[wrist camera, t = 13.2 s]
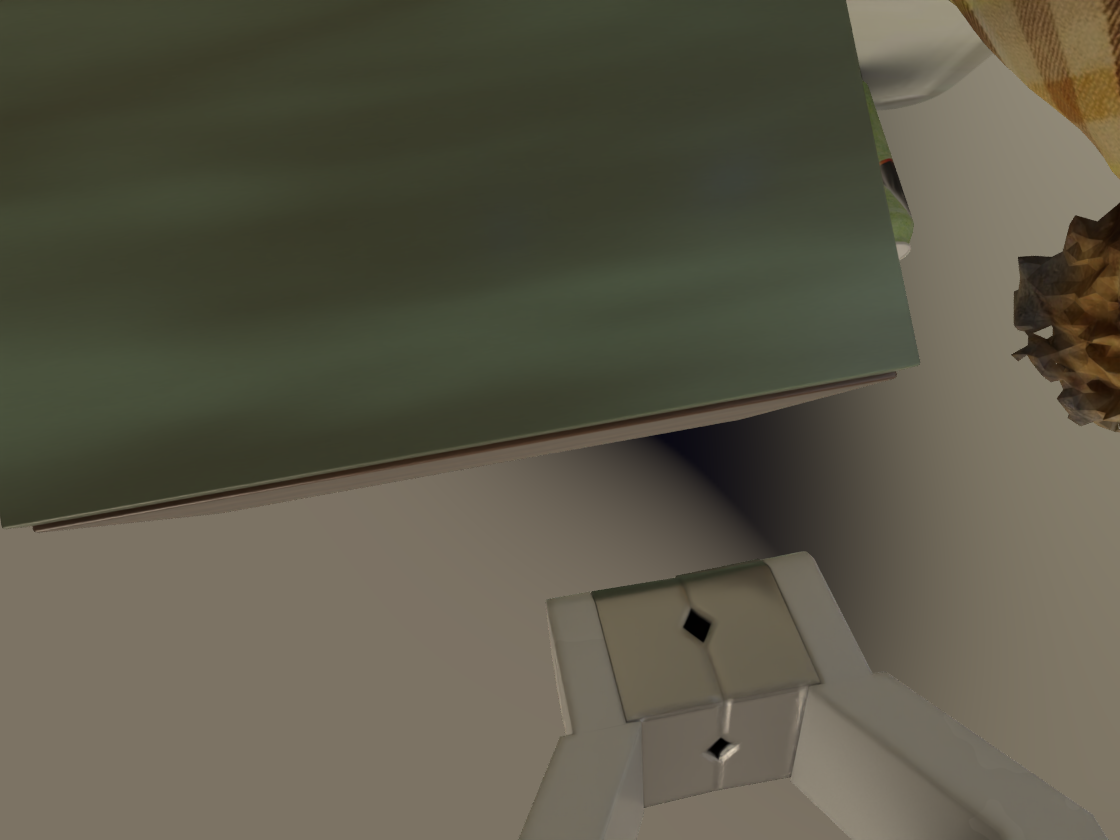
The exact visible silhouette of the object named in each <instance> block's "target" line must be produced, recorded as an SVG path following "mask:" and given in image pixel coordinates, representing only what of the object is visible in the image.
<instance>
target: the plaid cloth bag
mask: <svg viewBox="0 0 1120 840" xmlns="http://www.w3.org/2000/svg"><path fill="white" fill-rule="evenodd" d="M949 1H950V2H952V3H953V4H954V5H956V6H957V7H958V9H959V10H960V12H961V13H962V14H963V16H964V17H965V18H966V20H967V21H968V23H969V24H970V25H971V27H972V28H973V30H974V31H975V32H976V33H977V35H978V36H979V37H980V39H981V40H982V41H983V42H984V44H985V45H986V46H987V47H988V48H989V49H990V50H991V51H992V52H993V53H994V54H995V55H996V56H997V57H998V58H999V59H1000V60H1001V61H1002V62H1003V64H1004V65H1005V66H1006V67H1008V68H1009V69H1010V70H1011V71H1012V72H1013V73H1014V74H1015V75H1016V76H1017V77H1018V78H1019V79H1021V81H1022V82H1023V83H1024V84H1026V85H1027V86H1028V88H1029V89H1031V90H1032V91H1033V92H1035V93H1036V94H1037V95H1038V96H1040V97H1041V98H1042V99H1043V100H1045V101H1046V102H1047V103H1049V104H1050V105H1051V106H1052V107H1053V108H1055V109H1056V110H1057V111H1058V112H1060V113H1061V114H1062V115H1063V116H1064V117H1066V118H1067V119H1068V120H1070V121H1071V122H1072V123H1073V124H1074V125H1075V126H1077V127H1078V128H1079V129H1080V130H1081V131H1082V132H1083V133H1084V134H1085V135H1086V136H1087V137H1088V139H1089V140H1090V141H1091V142H1092V143H1093V144H1094V145H1095V146H1096V148H1097V149H1098V150H1099V152H1100V153H1101V154H1102V155H1103V157H1104V158H1105V160H1106V162H1107V163H1108V165H1109V167H1110V169H1111V170H1112V172H1113V173H1114V174H1115V175H1116V176H1117V177H1118V178H1119V179H1120V0H949ZM1018 261H1019V271H1020V284H1019V290H1017V291H1014V326H1015V327H1016V328H1017V329H1018V330H1021V331H1025V332H1026V334H1027V335H1028V346H1026V347H1024V348H1022V349H1020V350H1019V351H1017V352H1015V353H1013V354H1012V356H1013V357H1014V358H1015V359H1016V360H1017V361H1019V360H1021V359H1022V358H1023V357H1025V356H1026V355H1027V356H1028V357H1029V359H1030V361H1031V362H1032V363H1033V365H1034V366H1035V367H1036V368H1037V370H1038V371H1039V372H1040V373H1041V375H1042V376H1043V377H1045V378H1046V379H1047V380H1049V381H1050V382H1053V381H1058V380H1060V383H1061V385H1062V387H1063V391H1062V392H1061V394H1060V395H1059V396H1058V398H1057V399H1058V401H1059V402H1060V403H1061V405H1062V406H1063V407H1064V408H1065V410H1066V411H1067V412H1068V413H1069V416H1068V418H1069V419H1070V420H1072V421H1073V422H1075V423H1076V424H1078V425H1080V426H1083V425H1086V424H1089V423H1091V422H1094V423H1095V424H1097V425H1098V426H1100V427H1103V428H1106V429H1109V430H1111V431H1114V432H1120V429H1119V428H1118V423H1119V426H1120V203H1119V204H1118V205H1117V206H1115V207H1114V208H1113V209H1112V210H1111V211H1110V212H1108V213H1107V214H1106V215H1105V216H1104V217H1102V218H1101V219H1100V220H1099V221H1098V222H1097V221H1094V220H1090V219H1087V218H1083V217H1079V216H1075V217H1074V218H1073V220H1072V222H1071V223H1070V225H1069V229H1068V233H1067V237H1066V241H1065V245H1064V249H1063V252H1061V253H1059V254H1057V255H1055V256H1053V257H1043V256H1025V257H1018ZM1051 325H1052V327H1053V336H1051V337H1049V338H1048V339H1045V338H1043V337H1041V336H1038V335H1036V334H1034V332H1037V331H1039V330H1041V329H1044V328H1046V327H1049V326H1051ZM1056 363H1057V364H1056Z"/></svg>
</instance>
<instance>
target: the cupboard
mask: <svg viewBox="0 0 1120 840" xmlns="http://www.w3.org/2000/svg"><path fill="white" fill-rule="evenodd" d="M896 375H897V374H896V371H895V372H890V373H884V374H879V375H873V376H867V377H862V378H856V379H851V380H845V381H840V382H834V383H828V384H823V385H817V386H812V387H806V388H800V389H795V390H789V391H784V392H778V393H772V394H767V395H761V396H756V397H750V398H745V399H739V400H733V401H728V402H722V403H717V404H711V405H705V406H700V407H694V408H689V409H683V410H678V411H672V412H666V413H661V414H655V415H650V416H644V417H638V418H633V419H627V420H622V421H616V422H611V423H605V424H599V425H594V426H588V427H583V428H577V429H571V430H566V431H560V432H555V433H549V434H543V435H538V436H532V437H527V438H521V439H516V440H510V441H504V442H499V443H493V444H488V445H482V446H476V447H471V448H465V449H460V450H454V451H449V452H443V453H437V454H432V455H426V456H421V457H415V458H409V459H404V460H398V461H393V462H387V463H382V464H376V465H370V466H365V467H359V468H354V469H348V470H342V471H337V472H331V473H326V474H320V475H314V476H309V477H303V478H298V479H292V480H287V481H281V482H275V483H270V484H264V485H259V486H253V487H247V488H242V489H236V490H231V491H225V492H220V493H214V494H208V495H203V496H197V497H192V498H186V499H180V500H175V501H169V502H164V503H158V504H153V505H147V506H141V507H136V508H130V509H125V510H119V511H113V512H108V513H102V514H97V515H91V516H85V517H80V518H74V519H69V520H63V521H58V522H52V523H46V524H41V525H35V526H33V530H34V532H37V533H40V532H48V531H58V530H68V529H78V528H86V527H96V526H106V525H116V524H125V523H134V522H143V521H153V520H162V519H172V518H181V517H190V516H201V515H210V514H219V513H225V512H231V511H236V510H242V509H248V508H253V507H259V506H264V505H270V504H275V503H281V502H286V501H292V500H297V499H303V498H308V497H314V496H320V495H325V494H331V493H336V492H342V491H347V490H352V489H358V488H364V487H369V486H375V485H380V484H386V483H391V482H396V481H402V480H408V479H413V478H419V477H424V476H430V475H436V474H441V473H446V472H452V471H458V470H463V469H469V468H474V467H480V466H485V465H491V464H496V463H502V462H508V461H513V460H519V459H524V458H530V457H535V456H541V455H546V454H551V453H557V452H563V451H568V450H574V449H579V448H585V447H590V446H596V445H602V444H607V443H613V442H618V441H624V440H629V439H634V438H640V437H646V436H651V435H657V434H662V433H668V432H673V431H679V430H684V429H690V428H695V427H701V426H707V425H712V424H717V423H723V422H729V421H734V420H740V419H744V418H747V417H751V416H755V415H759V414H762V413H766V412H770V411H774V410H778V409H782V408H785V407H789V406H793V405H797V404H801V403H804V402H808V401H812V400H816V399H819V398H823V397H827V396H830V395H835V394H838V393H842V392H846V391H850V390H854V389H857V388H861V387H865V386H868V385H873V384H876V383H880V382H884V381H888V380H892V379H894V378H896Z"/></svg>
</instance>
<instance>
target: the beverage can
mask: <svg viewBox="0 0 1120 840" xmlns="http://www.w3.org/2000/svg"><path fill="white" fill-rule="evenodd" d="M862 82H863V87H864V91H865V96H866V101H867V106H868V111H869V116H870V121H871V126H872V130H873V135H874V140H875V145H876V150H877V155H878V160H879V165H880V169H881V174H882V179H883V184H884V189H885V194H886V199H887V204H888V208H889V213H890V218H891V223H892V228H893V233H894V238H895V242H896V247H897V252H898V257H899V260H901V259H903V258H904V257H905V256H907V254H908V253H909V252H910V251H911V246H910V244H909V241H910V239H911V236H912V233H913V227H914V223H913V219H912V217H911V213H910V210H909V208H908V204H907V201H906V198H905V195H904V193H903V190H902V186H901V183H900V180H899V177H898V174H897V172H896V168H895V166H894V163H893V159H892V156H891V153H890V150H889V147H888V144H887V142H886V138H885V135H884V133H883V130H882V126H881V124H880V120H879V117H878V115H877V111H876V108H875V105H874V102H873V99H872V96H871V93H870V90H869V87H868V85H867V84H866V83H865V82H864V81H862Z"/></svg>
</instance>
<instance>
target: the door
mask: <svg viewBox="0 0 1120 840" xmlns="http://www.w3.org/2000/svg"><path fill="white" fill-rule="evenodd" d="M918 365H920V359H919V355H918V350H917V345H916V340H915V335H914V330H913V326H912V321H911V316H910V311H909V306H908V301H907V296H906V291H905V286H904V281H903V277H902V272H901V267H900V262H899V257H898V252H897V247H896V242H895V238H894V233H893V228H892V223H891V218H890V213H889V208H888V204H887V199H886V194H885V189H884V184H883V179H882V174H881V169H880V165H879V160H878V155H877V150H876V145H875V140H874V135H873V130H872V126H871V121H870V116H869V111H868V106H867V101H866V96H865V91H864V87H863V82H862V77H861V72H860V67H859V62H858V57H857V52H856V48H855V43H854V38H853V33H852V28H851V23H850V18H849V13H848V9H847V4H846V0H0V518H1V525H2V528H3V529H11V528H22V527H30V526H35V525H41V524H46V523H52V522H58V521H63V520H69V519H74V518H80V517H85V516H91V515H97V514H102V513H108V512H113V511H119V510H125V509H130V508H136V507H141V506H147V505H153V504H158V503H164V502H169V501H175V500H180V499H186V498H192V497H197V496H203V495H208V494H214V493H220V492H225V491H231V490H236V489H242V488H247V487H253V486H259V485H264V484H270V483H275V482H281V481H287V480H292V479H298V478H303V477H309V476H314V475H320V474H326V473H331V472H337V471H342V470H348V469H354V468H359V467H365V466H370V465H376V464H382V463H387V462H393V461H398V460H404V459H409V458H415V457H421V456H426V455H432V454H437V453H443V452H449V451H454V450H460V449H465V448H471V447H476V446H482V445H488V444H493V443H499V442H504V441H510V440H516V439H521V438H527V437H532V436H538V435H543V434H549V433H555V432H560V431H566V430H571V429H577V428H583V427H588V426H594V425H599V424H605V423H611V422H616V421H622V420H627V419H633V418H638V417H644V416H650V415H655V414H661V413H666V412H672V411H678V410H683V409H689V408H694V407H700V406H705V405H711V404H717V403H722V402H728V401H733V400H739V399H745V398H750V397H756V396H761V395H767V394H772V393H778V392H784V391H789V390H795V389H800V388H806V387H812V386H817V385H823V384H828V383H834V382H840V381H845V380H851V379H856V378H862V377H867V376H873V375H879V374H884V373H890V372H895V371H900V370H904V369H908V368H911V367H915V366H918Z"/></svg>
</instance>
